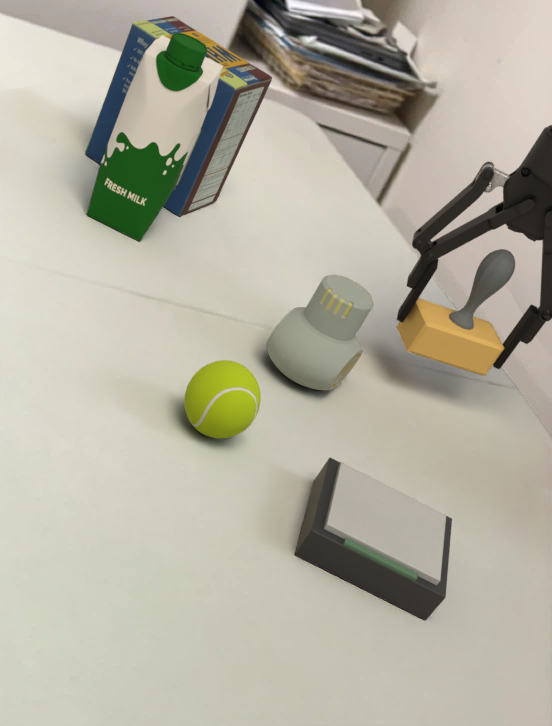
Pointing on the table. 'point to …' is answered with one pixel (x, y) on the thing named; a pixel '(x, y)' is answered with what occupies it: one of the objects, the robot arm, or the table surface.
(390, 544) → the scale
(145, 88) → the milk carton
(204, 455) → the table surface
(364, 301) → the air freshener
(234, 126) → the protein box
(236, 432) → the tennis ball
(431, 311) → the rubber stamp
